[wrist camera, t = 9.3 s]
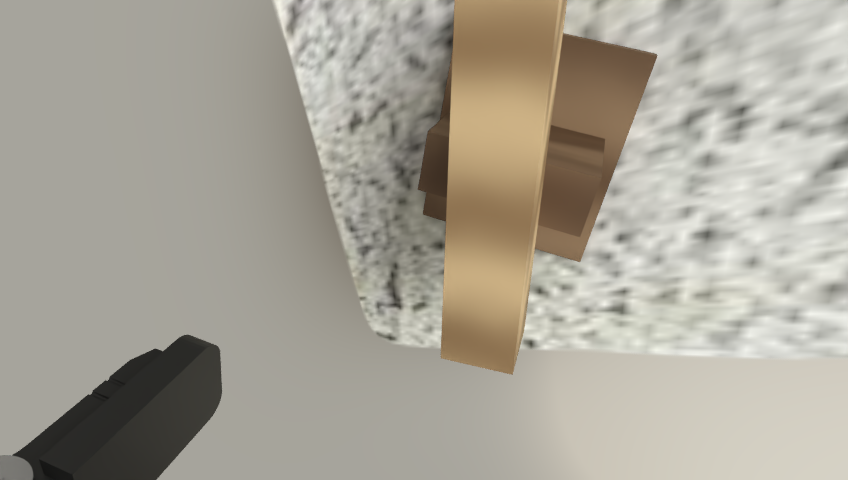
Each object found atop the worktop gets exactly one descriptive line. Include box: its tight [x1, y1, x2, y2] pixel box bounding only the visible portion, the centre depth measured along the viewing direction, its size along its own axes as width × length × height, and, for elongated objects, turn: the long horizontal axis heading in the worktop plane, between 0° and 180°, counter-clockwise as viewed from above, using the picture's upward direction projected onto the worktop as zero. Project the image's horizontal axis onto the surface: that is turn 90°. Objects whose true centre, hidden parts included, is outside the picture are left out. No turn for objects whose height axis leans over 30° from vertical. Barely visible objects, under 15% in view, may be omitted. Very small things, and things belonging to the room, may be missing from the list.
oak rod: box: [441, 0, 567, 374], centre depth 23 cm, size 16×4×4 cm, turn 179°
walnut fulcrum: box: [418, 33, 657, 262], centre depth 27 cm, size 12×10×7 cm
